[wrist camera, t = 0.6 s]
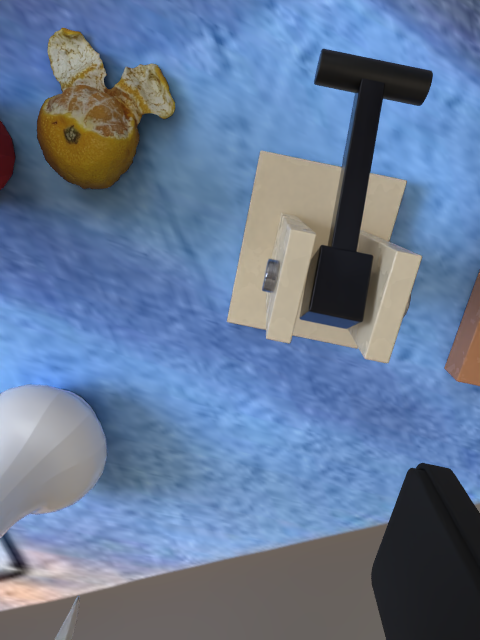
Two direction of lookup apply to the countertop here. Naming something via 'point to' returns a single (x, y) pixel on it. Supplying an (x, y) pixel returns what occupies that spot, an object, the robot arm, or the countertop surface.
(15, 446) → the flower vase
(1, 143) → the plastic cup
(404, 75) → the black t-handle lever
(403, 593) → the robot arm
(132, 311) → the countertop surface
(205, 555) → the countertop surface
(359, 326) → the lever bracket
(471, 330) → the control block
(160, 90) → the fruit
